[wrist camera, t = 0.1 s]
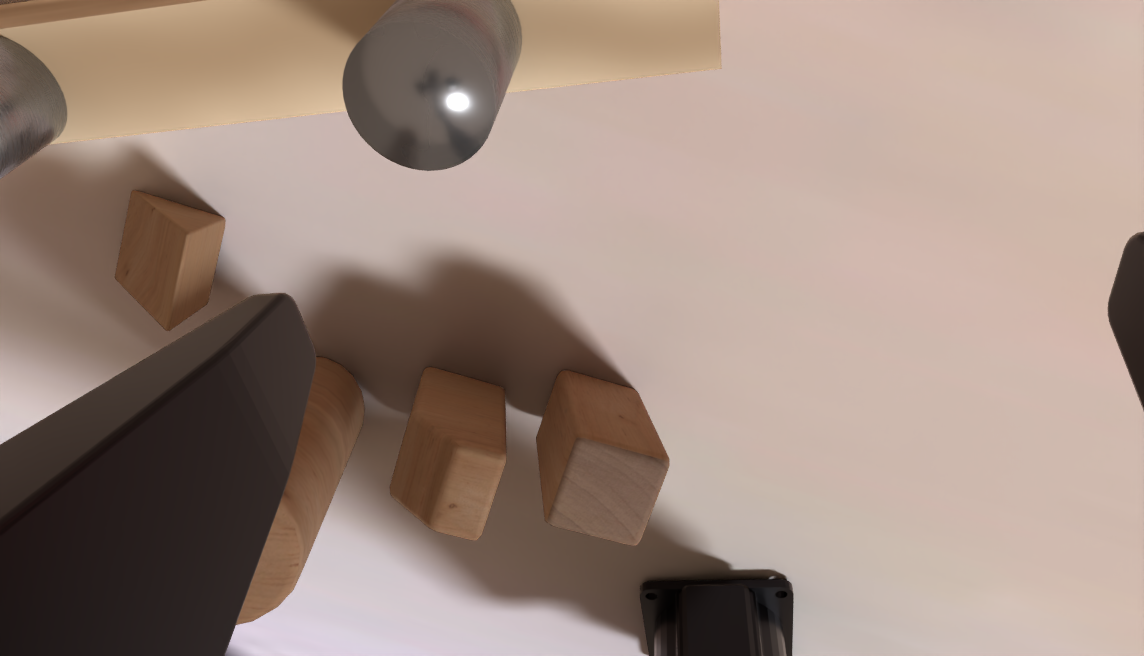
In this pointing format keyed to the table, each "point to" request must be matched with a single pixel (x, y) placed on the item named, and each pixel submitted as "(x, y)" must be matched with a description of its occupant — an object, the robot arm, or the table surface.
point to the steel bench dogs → (346, 84)
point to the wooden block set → (411, 425)
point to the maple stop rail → (311, 54)
